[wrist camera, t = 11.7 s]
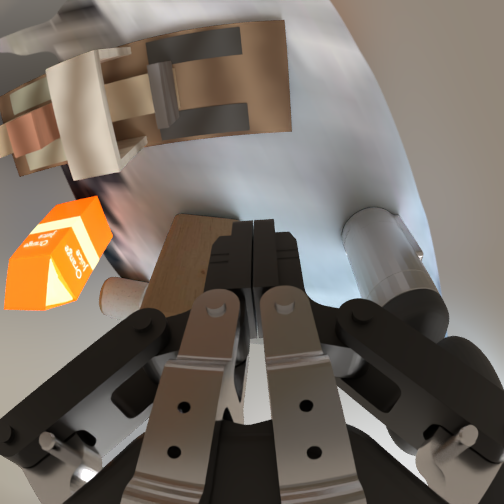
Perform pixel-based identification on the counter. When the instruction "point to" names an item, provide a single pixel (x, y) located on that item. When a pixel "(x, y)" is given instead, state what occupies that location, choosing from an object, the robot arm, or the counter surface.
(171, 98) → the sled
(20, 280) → the orange juice
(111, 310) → the ceramic mug
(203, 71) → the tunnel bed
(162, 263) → the wooden block
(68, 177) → the counter surface
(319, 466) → the robot arm
